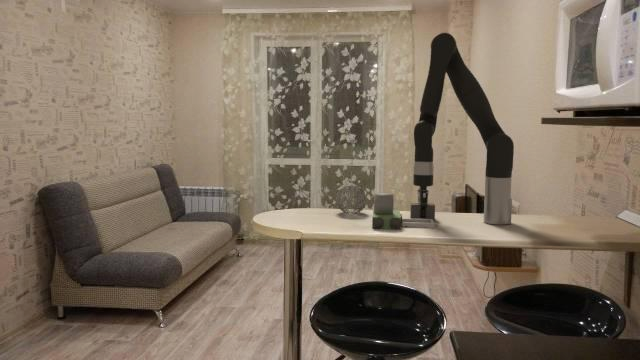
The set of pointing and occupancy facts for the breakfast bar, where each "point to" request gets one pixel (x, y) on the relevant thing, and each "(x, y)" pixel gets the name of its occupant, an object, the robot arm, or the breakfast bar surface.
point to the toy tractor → (393, 214)
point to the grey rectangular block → (416, 211)
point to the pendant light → (351, 193)
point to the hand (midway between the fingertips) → (422, 216)
